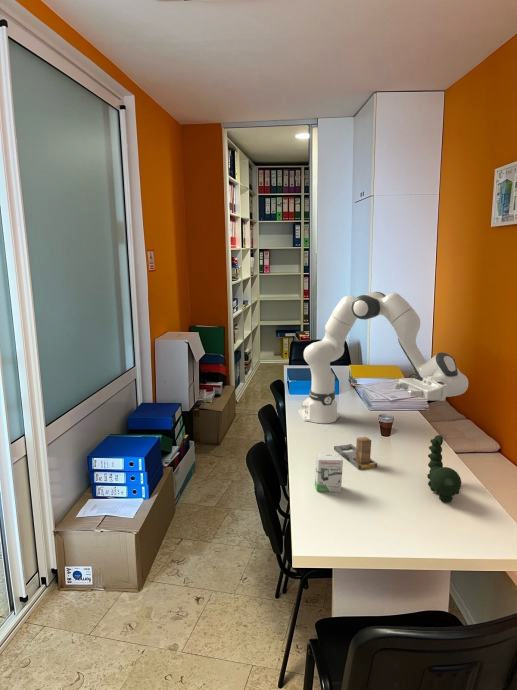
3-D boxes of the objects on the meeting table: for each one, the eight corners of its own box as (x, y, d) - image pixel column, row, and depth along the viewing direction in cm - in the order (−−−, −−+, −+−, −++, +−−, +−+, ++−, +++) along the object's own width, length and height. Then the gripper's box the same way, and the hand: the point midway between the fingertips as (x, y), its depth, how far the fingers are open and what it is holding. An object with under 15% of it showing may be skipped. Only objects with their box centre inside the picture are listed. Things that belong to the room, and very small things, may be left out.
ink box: (316, 492, 171) (317, 459, 169) (314, 485, 176) (315, 453, 173) (341, 492, 171) (343, 459, 169) (339, 485, 176) (340, 453, 174)
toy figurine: (419, 480, 184) (435, 509, 159) (422, 430, 182) (439, 451, 157) (446, 482, 183) (466, 511, 158) (449, 431, 181) (470, 453, 156)
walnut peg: (355, 461, 195) (356, 437, 193) (364, 460, 196) (365, 436, 194) (360, 466, 191) (362, 441, 189) (369, 464, 192) (371, 440, 190)
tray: (334, 449, 207) (334, 446, 207) (351, 447, 210) (351, 444, 209) (358, 469, 188) (359, 466, 188) (377, 467, 191) (377, 463, 191)
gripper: (416, 373, 209) (387, 375, 205) (449, 386, 190) (418, 389, 186) (414, 387, 210) (386, 390, 206) (447, 402, 191) (417, 405, 187)
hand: (402, 389), depth 196 cm, fingers open, 8 cm apart
